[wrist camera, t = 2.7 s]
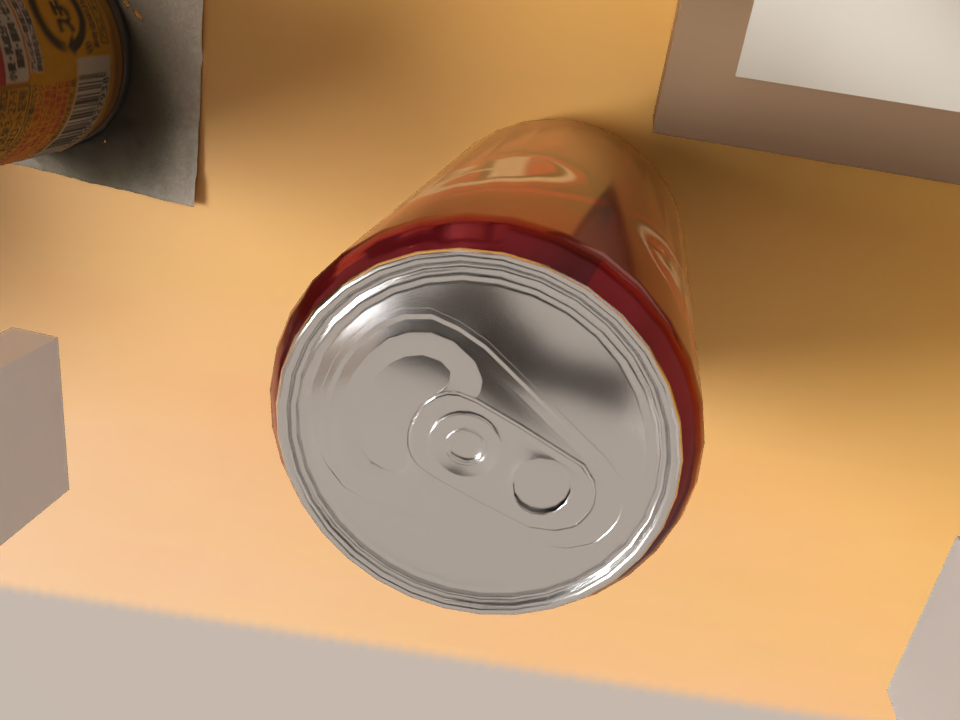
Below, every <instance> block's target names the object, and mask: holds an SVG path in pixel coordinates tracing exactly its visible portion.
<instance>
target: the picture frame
mask: <svg viewBox="0 0 960 720" xmlns="http://www.w3.org/2000/svg"><path fill="white" fill-rule="evenodd" d="M653 133H658V134H664V135H670V136H676V137H681V138H687V139H693V140H699V141H705V142H711V143H717V144H723V145H728V146H734V147H740V148H746V149H752V150H758V151H764V152H770V153H775V154H781V155H787V156H793V157H799V158H805V159H811V160H817V161H823V162H828V163H834V164H840V165H846V166H852V167H858V168H864V169H870V170H875V171H881V172H887V173H893V174H899V175H905V176H911V177H917V178H923V179H928V180H934V181H940V182H946V183H952V184H958V185H960V0H678V5H677V9H676V14H675V19H674V23H673V28H672V32H671V37H670V41H669V46H668V51H667V55H666V60H665V64H664V69H663V74H662V78H661V83H660V87H659V92H658V97H657V101H656V106H655V110H654V115H653Z"/></svg>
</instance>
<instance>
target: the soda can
mask: <svg viewBox="0 0 960 720" xmlns="http://www.w3.org/2000/svg"><path fill="white" fill-rule="evenodd" d="M270 395H271V413H272V427H273V431H274V435H275V439H276V443H277V447H278V450H279V454H280V458H281V462H282V464H283V466H284V468H285V470H286V472H287V475H288V477H289V479H290V481H291V483H292V485H293V487H294V489H295V491H296V494H297V496H298V497H299V499H300V501H301V503H302V505H303V506H304V508H305V509H306V510H307V512H308V513H309V515H310V516H311V517H312V519H313V520H314V522H315V523H316V524H317V526H318V527H319V529H320V530H321V531H322V533H323V534H324V535H325V536H326V537H327V538H328V539H329V540H330V541H331V542H332V543H333V544H334V545H335V546H336V547H337V548H338V549H339V550H340V551H341V552H342V553H343V554H344V555H345V556H346V557H347V558H348V559H349V560H351V561H352V562H353V563H355V564H356V565H357V566H359V567H360V568H362V569H363V570H364V571H366V572H367V573H368V574H370V575H371V576H373V577H374V578H375V579H377V580H378V581H380V582H382V583H384V584H386V585H388V586H390V587H392V588H394V589H396V590H398V591H400V592H402V593H404V594H406V595H407V596H409V597H412V598H415V599H418V600H421V601H424V602H427V603H430V604H433V605H436V606H439V607H442V608H447V609H452V610H458V611H464V612H470V613H476V614H511V615H515V614H522V613H529V612H535V611H541V610H548V609H553V608H556V607H559V606H562V605H565V604H568V603H571V602H574V601H577V600H580V599H583V598H586V597H589V596H592V595H595V594H597V593H599V592H600V591H602V590H604V589H606V588H607V587H609V586H611V585H613V584H614V583H616V582H618V581H620V580H621V579H623V578H625V577H627V576H628V575H629V574H631V573H632V572H633V571H634V570H635V569H636V568H637V567H639V566H640V565H641V564H642V563H643V562H644V561H645V560H647V559H648V558H649V557H650V556H651V555H652V554H653V553H654V552H656V551H657V549H658V548H659V547H660V545H661V544H662V543H663V541H664V540H665V539H666V537H667V536H668V535H669V533H670V532H671V530H672V529H673V528H674V526H675V525H676V524H677V522H678V521H679V520H680V518H681V517H682V515H683V513H684V511H685V508H686V506H687V504H688V501H689V499H690V497H691V495H692V492H693V490H694V488H695V485H696V483H697V481H698V475H699V470H700V464H701V459H702V453H703V448H704V443H705V442H704V421H703V401H702V392H701V384H700V375H699V367H698V358H697V349H696V341H695V332H694V324H693V315H692V306H691V298H690V289H689V281H688V272H687V263H686V255H685V246H684V238H683V229H682V225H681V221H680V218H679V214H678V210H677V206H676V203H675V201H674V199H673V197H672V195H671V193H670V191H669V189H668V187H667V185H666V183H665V181H664V180H663V178H662V177H661V176H660V175H659V173H658V172H657V171H656V170H655V168H654V167H653V166H652V165H651V163H650V162H649V161H648V160H647V158H645V157H644V156H643V155H642V154H640V153H639V152H638V151H637V150H636V149H634V148H633V147H632V146H631V145H630V144H628V143H627V142H626V141H624V140H622V139H620V138H618V137H616V136H615V135H613V134H611V133H609V132H607V131H605V130H603V129H601V128H597V127H594V126H591V125H587V124H584V123H580V122H577V121H568V120H555V119H544V120H536V121H528V122H521V123H518V124H515V125H512V126H509V127H506V128H503V129H500V130H497V131H495V132H494V133H492V134H490V135H488V136H487V137H485V138H483V139H482V140H480V141H478V142H477V143H475V144H473V145H472V146H471V147H470V148H469V149H467V150H466V151H465V152H464V153H463V154H461V155H460V156H459V157H458V158H457V159H455V160H454V161H453V162H452V163H450V164H449V165H448V166H447V167H446V168H444V169H443V170H442V171H441V172H440V173H438V174H437V175H436V176H435V177H434V178H432V179H431V180H430V181H429V182H428V183H426V184H425V185H424V186H423V187H422V188H420V189H419V190H418V191H417V192H416V193H414V194H413V195H412V196H411V197H409V198H408V199H407V200H406V201H405V202H403V203H402V204H401V205H400V206H399V207H397V208H396V209H395V210H394V211H393V212H391V213H390V214H389V215H388V216H387V217H385V218H384V219H383V220H382V221H381V222H379V223H378V224H377V225H376V226H375V227H373V228H372V229H371V230H370V231H368V232H367V233H366V234H365V235H364V236H362V237H361V238H360V239H359V240H358V241H356V242H355V243H354V244H353V245H352V246H350V247H349V248H348V249H347V250H346V251H344V252H343V253H342V254H341V255H340V256H339V257H338V258H336V259H335V260H334V261H333V262H332V263H331V264H330V265H329V266H328V267H327V268H326V269H324V270H323V271H322V272H321V273H320V274H319V275H318V276H317V277H316V278H315V279H314V280H312V282H311V283H310V285H309V286H308V288H307V289H306V291H305V292H304V293H303V295H302V296H301V298H300V299H299V301H298V302H297V304H296V305H295V307H294V308H293V309H292V311H291V312H290V315H289V317H288V320H287V322H286V325H285V327H284V330H283V332H282V335H281V338H280V340H279V343H278V345H277V348H276V354H275V361H274V367H273V373H272V380H271V387H270Z"/></svg>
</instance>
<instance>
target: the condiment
mask: <svg viewBox="0 0 960 720" xmlns="http://www.w3.org/2000/svg"><path fill="white" fill-rule="evenodd" d="M203 1H204V0H128V2H129V3H130V7H129V8H128V7H126V6H125V4H124V3H123V0H0V165H4V164H8V163H11V164H17V165H22V166H27V167H31V168H35V169H39V170H42V171H47V172H52V173H56V174H59V175H63V176H66V177H70V178H76V179H79V180H81V181H85V182H88V183H93V184H99V185H104V186H109V187H113V188H116V189H121V190H126V191H131V192H134V193H139V194H143V195H147V196H150V197H153V198H157V199H160V200H164V201H169V202H174V203H178V204H183V205H187V206H191V207H194V197H195V179H196V175H197V156H198V128H199V121H200V94H201V68H202V64H203V63H202V61H203V54H202V33H201V32H202V15H203ZM134 10H137V11H138V12H139V13H140V14H141V16H142V21H140V20H139V19H138V18H137V17H136V16H135V14H134ZM103 140H106V142H107V143H104V142H103Z"/></svg>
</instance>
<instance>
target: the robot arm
mask: <svg viewBox="0 0 960 720" xmlns="http://www.w3.org/2000/svg"><path fill="white" fill-rule="evenodd" d="M68 490H69V480H68V466H67V453H66V440H65V426H64V413H63V399H62V386H61V373H60V359H59V346H58V337H54V336H50V335H45V334H40V333H36V332H31V331H27V330H22V329H18V328H13V327H12V328H10V329H8V330H6V331H4V332H2V333H0V546H1V545H2V544H3V543H4V542H5V541H7V540H8V539H9V538H10V537H12V536H13V535H14V534H15V533H16V532H18V531H19V530H20V529H21V528H23V527H24V526H25V525H26V524H28V523H29V522H30V521H31V520H32V519H34V518H35V517H36V516H37V515H39V514H40V513H41V512H42V511H43V510H45V509H46V508H47V507H48V506H50V505H51V504H52V503H53V502H54V501H56V500H57V499H58V498H59V497H61V496H62V495H63V494H64V493H65V492H67V491H68ZM887 692H888V695H889V698H890V701H891V704H892V707H893V710H894V713H895V716H896V719H897V720H960V537H959V536H956V539H955V541H954V543H953V545H952V547H951V550H950V552H949V554H948V556H947V558H946V561H945V563H944V565H943V567H942V569H941V572H940V574H939V576H938V578H937V580H936V583H935V585H934V587H933V589H932V591H931V594H930V596H929V598H928V600H927V603H926V605H925V607H924V609H923V611H922V614H921V616H920V618H919V620H918V622H917V625H916V627H915V629H914V631H913V633H912V636H911V638H910V640H909V642H908V644H907V647H906V649H905V651H904V653H903V655H902V658H901V660H900V662H899V664H898V667H897V669H896V671H895V673H894V675H893V678H892V680H891V682H890V684H889V686H888V689H887Z"/></svg>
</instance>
